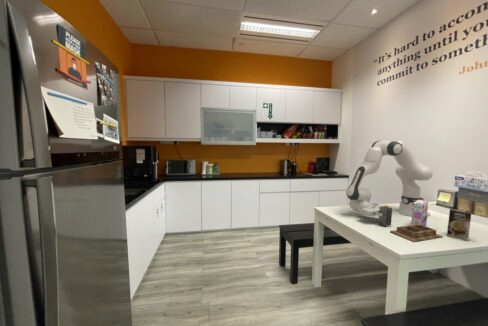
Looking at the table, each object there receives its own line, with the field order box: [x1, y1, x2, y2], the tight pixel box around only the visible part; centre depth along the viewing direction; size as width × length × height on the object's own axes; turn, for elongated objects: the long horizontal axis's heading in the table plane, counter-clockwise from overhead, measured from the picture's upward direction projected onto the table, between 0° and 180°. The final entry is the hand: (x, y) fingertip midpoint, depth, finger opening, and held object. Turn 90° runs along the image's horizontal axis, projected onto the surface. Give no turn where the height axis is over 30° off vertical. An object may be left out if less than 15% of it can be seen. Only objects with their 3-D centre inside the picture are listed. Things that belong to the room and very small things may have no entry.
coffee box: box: [446, 208, 472, 241], centre depth 127 cm, size 9×6×16 cm
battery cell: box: [378, 205, 393, 227], centre depth 144 cm, size 5×5×13 cm
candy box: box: [410, 200, 429, 226], centre depth 146 cm, size 14×6×16 cm, turn 129°
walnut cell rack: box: [389, 224, 444, 243], centre depth 130 cm, size 24×14×4 cm, turn 108°
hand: (386, 214), depth 143 cm, fingers closed on battery cell, 5 cm apart
